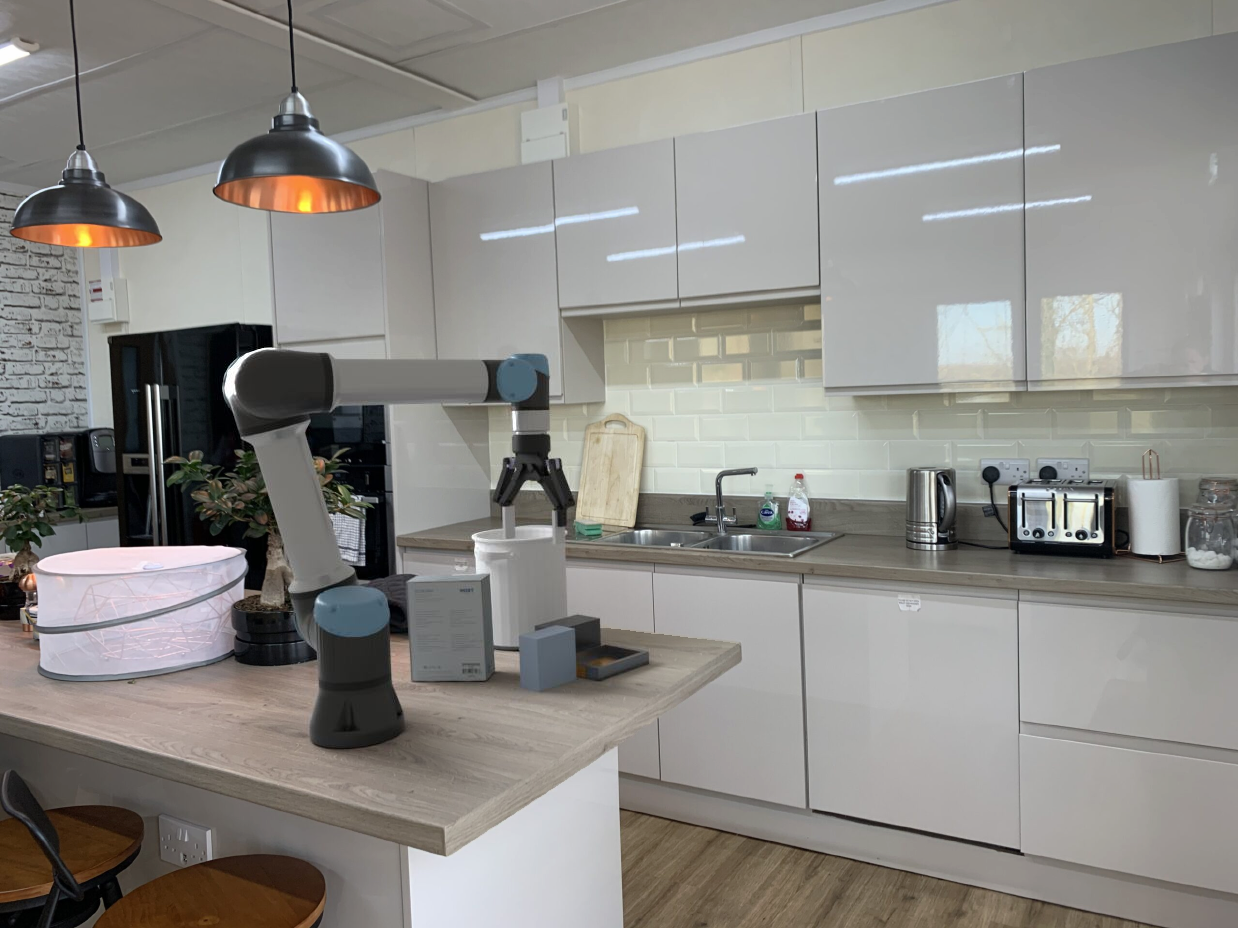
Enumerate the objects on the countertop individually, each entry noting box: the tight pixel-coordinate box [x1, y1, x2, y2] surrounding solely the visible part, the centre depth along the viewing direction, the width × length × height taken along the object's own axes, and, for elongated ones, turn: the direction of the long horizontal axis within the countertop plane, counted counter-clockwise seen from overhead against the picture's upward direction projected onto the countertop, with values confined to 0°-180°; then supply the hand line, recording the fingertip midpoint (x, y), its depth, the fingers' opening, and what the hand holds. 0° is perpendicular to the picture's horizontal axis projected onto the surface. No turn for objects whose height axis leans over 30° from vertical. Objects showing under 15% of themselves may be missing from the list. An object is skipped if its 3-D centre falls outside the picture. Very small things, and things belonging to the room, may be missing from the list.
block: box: [518, 625, 578, 693], centre depth 178 cm, size 10×5×10 cm, turn 138°
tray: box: [535, 613, 650, 682], centre depth 191 cm, size 15×20×8 cm
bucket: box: [471, 526, 569, 651], centre depth 212 cm, size 26×22×24 cm
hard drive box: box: [405, 573, 496, 682], centre depth 185 cm, size 16×8×20 cm, turn 84°
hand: (533, 541), depth 184 cm, fingers open, 13 cm apart
